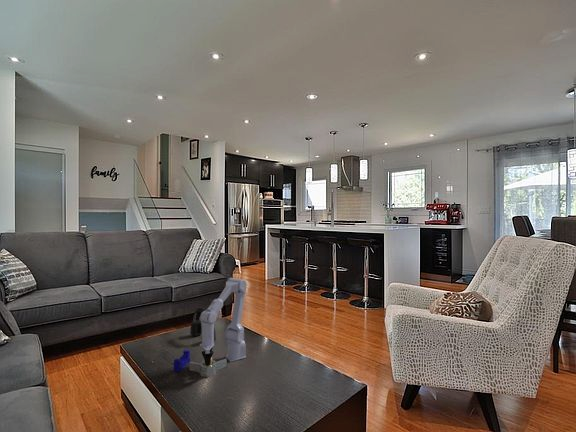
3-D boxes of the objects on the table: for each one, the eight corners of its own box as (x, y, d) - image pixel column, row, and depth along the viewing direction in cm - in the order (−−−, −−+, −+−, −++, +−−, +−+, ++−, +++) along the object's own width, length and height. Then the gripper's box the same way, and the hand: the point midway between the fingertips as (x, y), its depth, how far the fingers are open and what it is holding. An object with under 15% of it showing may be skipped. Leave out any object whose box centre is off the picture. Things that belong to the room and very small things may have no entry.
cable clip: (182, 360, 170) (182, 349, 170) (189, 361, 169) (189, 350, 169) (171, 371, 158) (171, 360, 158) (179, 372, 157) (179, 360, 157)
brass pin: (211, 370, 158) (211, 354, 158) (213, 373, 155) (213, 358, 155) (203, 372, 157) (203, 356, 157) (205, 375, 153) (205, 359, 153)
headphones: (189, 335, 205) (189, 305, 205) (197, 333, 209) (197, 303, 209) (208, 345, 190) (208, 312, 190) (216, 342, 194) (216, 310, 195)
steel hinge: (222, 361, 168) (222, 352, 168) (230, 370, 158) (230, 361, 158) (189, 369, 159) (189, 360, 159) (196, 380, 149) (196, 370, 149)
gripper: (200, 330, 162) (200, 356, 162) (198, 341, 148) (198, 369, 148) (214, 329, 163) (214, 354, 163) (214, 340, 149) (214, 368, 149)
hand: (208, 361), depth 156 cm, fingers open, 7 cm apart
